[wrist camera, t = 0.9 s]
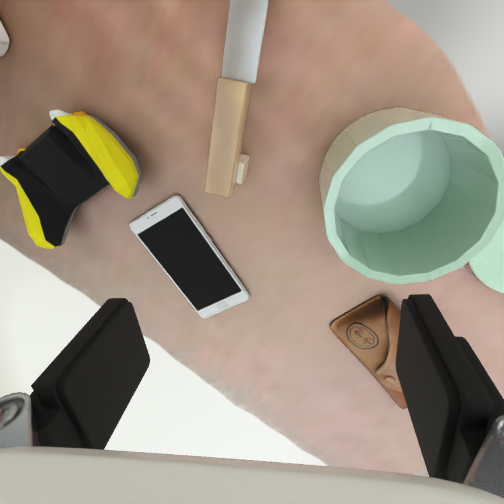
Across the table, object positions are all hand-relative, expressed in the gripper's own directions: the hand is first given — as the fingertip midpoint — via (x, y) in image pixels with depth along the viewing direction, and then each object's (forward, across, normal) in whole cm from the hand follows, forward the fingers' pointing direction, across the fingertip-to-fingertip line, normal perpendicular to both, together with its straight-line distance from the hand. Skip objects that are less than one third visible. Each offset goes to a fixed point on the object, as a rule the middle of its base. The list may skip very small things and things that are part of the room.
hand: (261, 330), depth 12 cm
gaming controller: (+25, +22, -1) cm, 33 cm away
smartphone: (+24, +12, +10) cm, 29 cm away
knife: (+21, +3, -9) cm, 23 cm away
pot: (+24, -9, +2) cm, 26 cm away
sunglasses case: (+25, -12, +24) cm, 37 cm away
